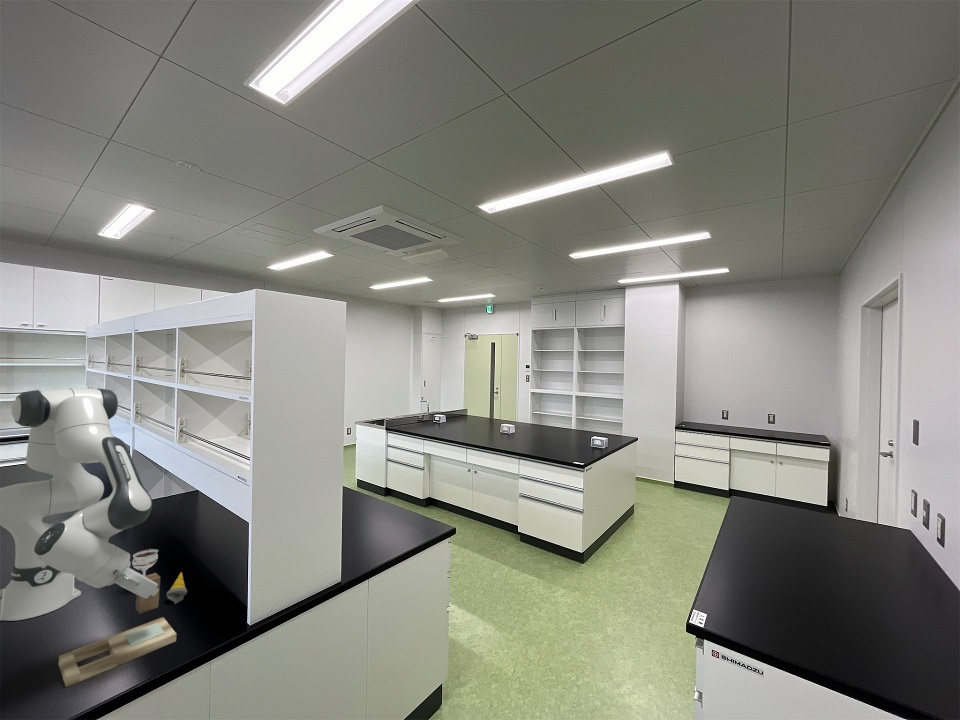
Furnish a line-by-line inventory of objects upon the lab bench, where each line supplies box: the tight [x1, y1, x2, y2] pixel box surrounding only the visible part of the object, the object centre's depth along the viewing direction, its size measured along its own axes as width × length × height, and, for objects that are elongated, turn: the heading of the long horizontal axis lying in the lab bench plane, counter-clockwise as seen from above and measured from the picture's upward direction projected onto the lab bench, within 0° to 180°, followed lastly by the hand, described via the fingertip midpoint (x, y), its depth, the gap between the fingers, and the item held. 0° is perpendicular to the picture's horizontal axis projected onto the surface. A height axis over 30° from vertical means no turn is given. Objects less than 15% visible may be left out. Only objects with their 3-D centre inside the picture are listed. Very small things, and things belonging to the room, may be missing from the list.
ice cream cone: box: [165, 571, 188, 605], centre depth 128 cm, size 5×5×10 cm
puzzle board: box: [57, 616, 177, 688], centre depth 103 cm, size 12×21×2 cm, turn 143°
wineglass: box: [131, 548, 159, 576], centre depth 133 cm, size 7×7×12 cm
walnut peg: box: [135, 572, 161, 615], centre depth 107 cm, size 4×4×8 cm
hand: (150, 589), depth 108 cm, fingers closed on walnut peg, 4 cm apart
